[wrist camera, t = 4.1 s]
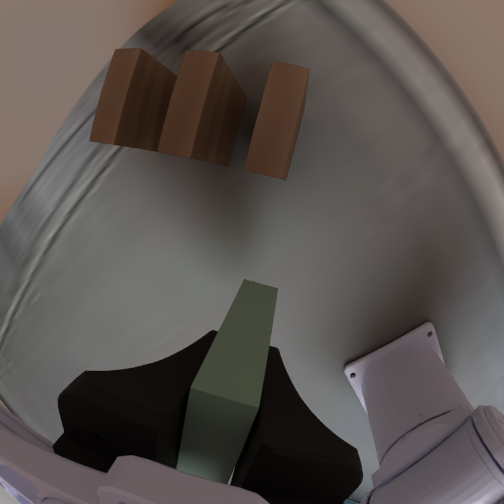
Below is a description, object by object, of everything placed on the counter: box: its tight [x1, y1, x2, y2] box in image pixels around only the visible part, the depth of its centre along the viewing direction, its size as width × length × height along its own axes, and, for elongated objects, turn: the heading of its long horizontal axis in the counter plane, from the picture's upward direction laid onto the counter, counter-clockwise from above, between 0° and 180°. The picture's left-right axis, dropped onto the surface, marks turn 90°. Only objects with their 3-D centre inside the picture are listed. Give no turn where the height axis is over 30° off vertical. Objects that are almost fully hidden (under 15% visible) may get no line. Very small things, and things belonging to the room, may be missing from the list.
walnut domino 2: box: [157, 50, 246, 166], centre depth 16 cm, size 2×5×8 cm, turn 166°
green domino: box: [177, 279, 278, 484], centre depth 11 cm, size 2×5×8 cm, turn 166°
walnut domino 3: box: [244, 61, 310, 180], centre depth 15 cm, size 2×5×8 cm, turn 166°
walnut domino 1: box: [89, 48, 177, 152], centre depth 16 cm, size 2×5×8 cm, turn 166°
